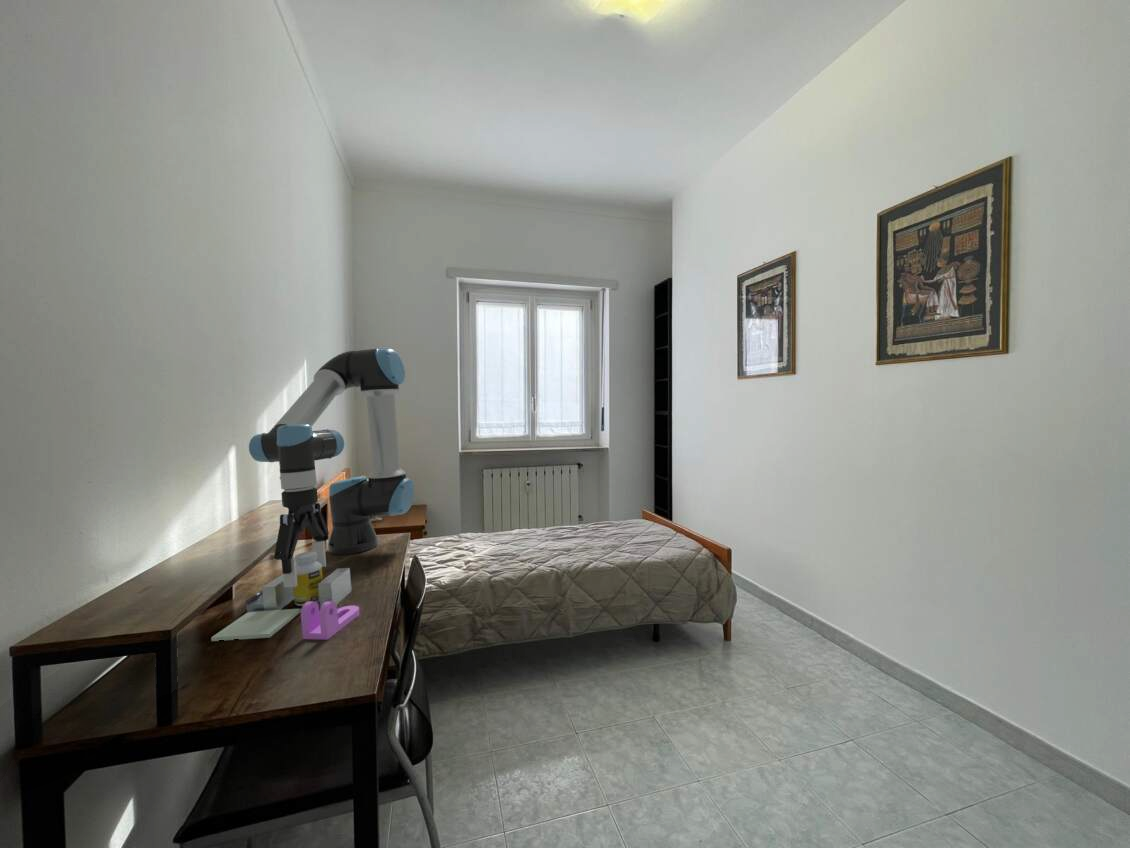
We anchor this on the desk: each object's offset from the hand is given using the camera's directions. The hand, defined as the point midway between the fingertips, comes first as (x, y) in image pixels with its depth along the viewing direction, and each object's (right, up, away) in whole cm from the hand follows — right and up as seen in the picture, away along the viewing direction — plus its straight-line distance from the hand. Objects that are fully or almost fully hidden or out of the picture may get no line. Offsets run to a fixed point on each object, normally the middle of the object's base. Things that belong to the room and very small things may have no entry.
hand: (306, 576), depth 118 cm
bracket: (+13, -7, -13) cm, 19 cm away
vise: (-2, -6, +1) cm, 7 cm away
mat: (-5, -7, -11) cm, 14 cm away
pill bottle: (0, -7, +1) cm, 7 cm away
